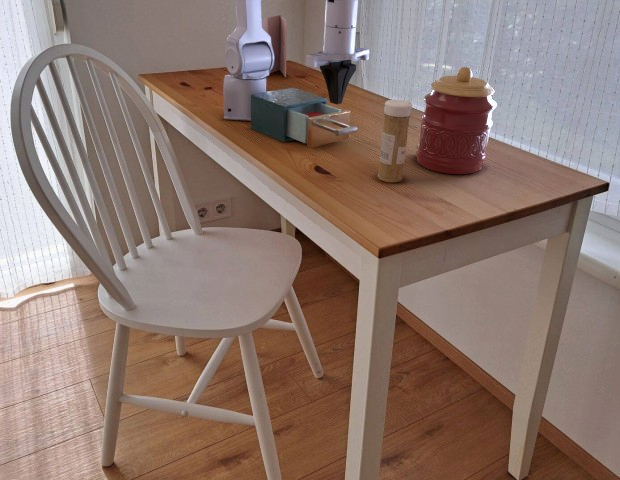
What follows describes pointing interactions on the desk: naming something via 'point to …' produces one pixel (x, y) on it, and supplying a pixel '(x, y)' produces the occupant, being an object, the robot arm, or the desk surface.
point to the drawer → (318, 124)
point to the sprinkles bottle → (394, 140)
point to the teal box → (278, 110)
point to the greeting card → (277, 40)
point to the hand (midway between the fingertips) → (335, 102)
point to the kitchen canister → (456, 124)
